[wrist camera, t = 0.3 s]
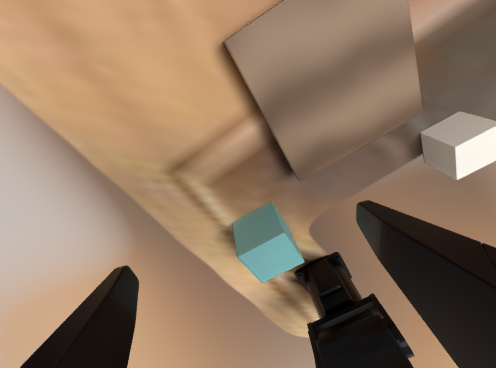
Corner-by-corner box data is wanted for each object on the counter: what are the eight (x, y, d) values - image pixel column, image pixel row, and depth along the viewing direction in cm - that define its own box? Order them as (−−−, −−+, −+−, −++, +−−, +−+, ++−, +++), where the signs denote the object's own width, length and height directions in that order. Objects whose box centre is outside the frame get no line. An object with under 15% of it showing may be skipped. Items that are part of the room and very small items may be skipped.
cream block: (459, 143, 25) (499, 158, 22) (424, 162, 26) (456, 180, 22) (458, 111, 23) (501, 122, 20) (419, 132, 24) (455, 147, 20)
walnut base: (406, 107, 22) (422, 113, 20) (293, 171, 24) (299, 181, 22) (376, -65, 15) (398, -79, 14) (223, 41, 17) (224, 41, 15)
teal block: (289, 228, 28) (304, 262, 24) (253, 247, 29) (261, 283, 24) (271, 200, 25) (284, 232, 21) (232, 222, 26) (237, 257, 22)
